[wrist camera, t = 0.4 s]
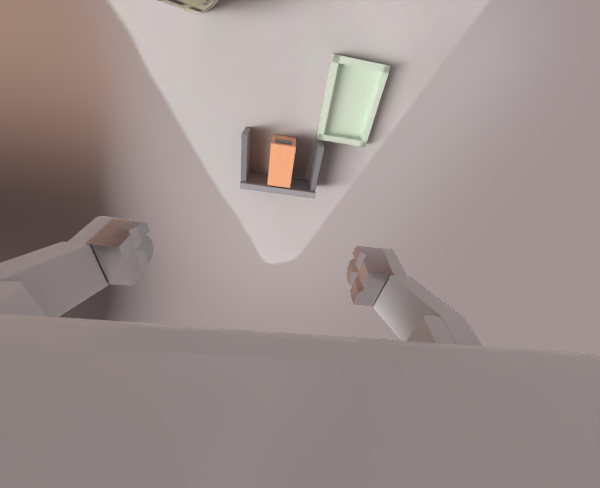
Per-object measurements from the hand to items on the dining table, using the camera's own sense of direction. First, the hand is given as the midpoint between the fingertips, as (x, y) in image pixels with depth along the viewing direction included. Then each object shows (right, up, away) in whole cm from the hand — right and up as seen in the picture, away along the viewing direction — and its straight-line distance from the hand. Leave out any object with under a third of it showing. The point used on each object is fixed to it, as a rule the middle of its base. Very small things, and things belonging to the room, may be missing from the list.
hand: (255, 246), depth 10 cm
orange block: (-2, +18, +41) cm, 45 cm away
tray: (+11, +26, +35) cm, 45 cm away
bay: (-2, +18, +41) cm, 45 cm away
